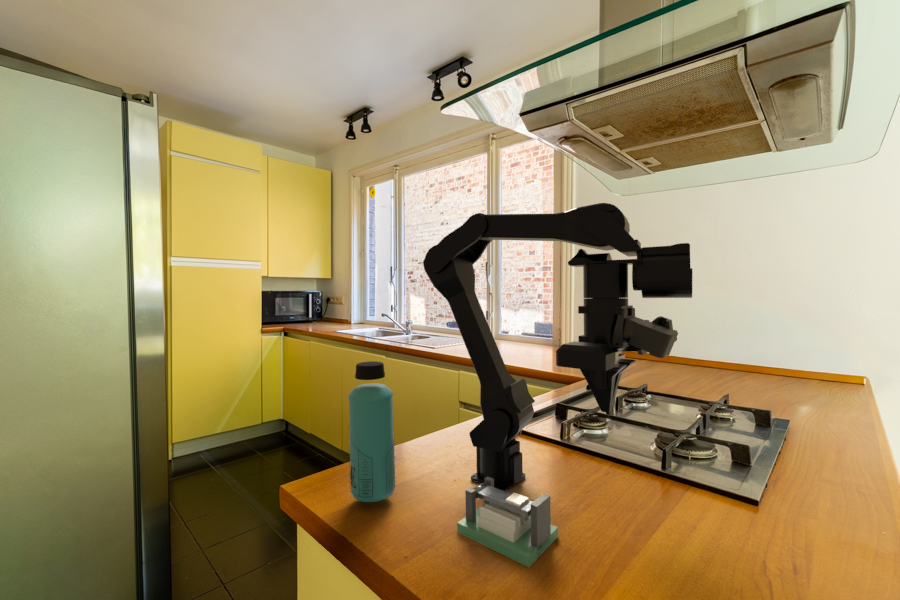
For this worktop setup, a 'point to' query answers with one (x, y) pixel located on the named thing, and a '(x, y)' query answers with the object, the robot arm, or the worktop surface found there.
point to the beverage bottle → (371, 436)
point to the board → (509, 527)
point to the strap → (504, 499)
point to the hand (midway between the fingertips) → (606, 411)
